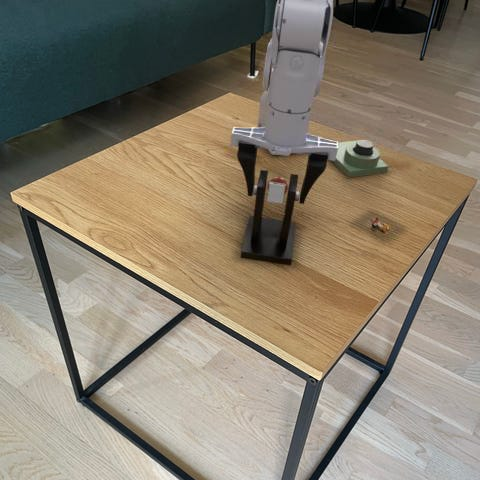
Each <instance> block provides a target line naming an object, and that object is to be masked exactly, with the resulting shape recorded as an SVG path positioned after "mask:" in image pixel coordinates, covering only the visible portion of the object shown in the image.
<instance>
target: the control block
mask: <svg viewBox="0 0 480 480" xmlns="http://www.w3.org/2000/svg"><path fill="white" fill-rule="evenodd" d="M357 141H358V140H349V141H341V142H338V151H337V156H336V160H335V161H331V162H332V163H333V164H334V166H336V167H337V168H338V170H340V171H341V172H342V173H343V174H344V175H345V176H346V177H347V178H355V177H361V176H362V177H364V176H371V175H377V174H383V173H387V172H388V170H389V165H388V164H387V163H386V162H385V161H383V160H382V159H381V158H380V157H381V152H380V150H379V149H378V148H376V147H375V146H373V150H372V153H371V155H370V156H362V155H358V154H356V153H355V152H354V150H355V146H356V142H357Z"/></svg>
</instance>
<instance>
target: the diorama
mask: <svg viewBox="0 0 480 480" xmlns="http://www.w3.org/2000/svg"><path fill="white" fill-rule="evenodd" d="M368 224H369V225H371V228H370V229H371V231H377V228H378V229H379V230H380V232H382V233H386V232H387V231H389V230H390V227H391V226H390V224H386V223H385V222H384V223H382V224H381V222H380V220H379V217H378V216H376V217H375V219H372V218H371V217H370V219H369V220H368Z"/></svg>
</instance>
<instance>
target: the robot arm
mask: <svg viewBox="0 0 480 480" xmlns="http://www.w3.org/2000/svg"><path fill="white" fill-rule="evenodd" d="M273 16H274V17H273V26H272V32H271V33H272V34H271V38H270V41H269V42H268V43H267V49H266V53H265V58H264V66H263V74H262V84H261V87H262V89H263V90H264V91H263V93H262V94H261V96H260V100H259V109H258V117H257V125H256V126H257V127H238V126H233V127H232V130H231V133H230V147H234V148H237V153H236V157H237V158H236V159H237V161H238V163H239V165H240V167H241V169H242V172H243V175H244V179H245V183H246V190H247V197H253V196H254V195H253V189H254V184H256V164H257V157H258V156H257V155H258V149H264V150H267V151H268V153H270V155H271V156H284V157H288V156H289V157H290V156H291V154H300V155H307V163H306V169H305V174H304V178H303V181H302V185H301V188H300V193H299V199H298V204H300V205H304V204H305V202H306V199H307V196H308V195H309V192H310V190H312V187H313V186H314V184H315V183H316V181H318V179H319V178H320V177H321V176H322V174H324V172H325V170H326V169H327V165H328V161H330V162H332V161H335V160H336V156H337V151H338V143H339V141H337V140H333V139H332V140H331V139H327V138H324V137H320V136H317V135H313V134H310V133H308V131H309V126H310V120H311V115H312V109H313V104H314V99H315V98H316V97H318V95H320V91H321V87H322V83H323V77H324V70H325V61H326V54H327V53H326V52H327V49H328V44H329V40H330V36H331V29H332V24H333V18H334V17H333V16H334V0H277V1H276V4H275V10H274V15H273Z"/></svg>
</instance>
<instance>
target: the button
mask: <svg viewBox="0 0 480 480" xmlns="http://www.w3.org/2000/svg"><path fill="white" fill-rule="evenodd" d="M356 141H357V142H356V146H355V150H354V152H355V153H356V154H358V155H362V156H370V155H371V153H372V150H373V147H375V144H374V142H373V141H370V140H368V139H357V140H356Z"/></svg>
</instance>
